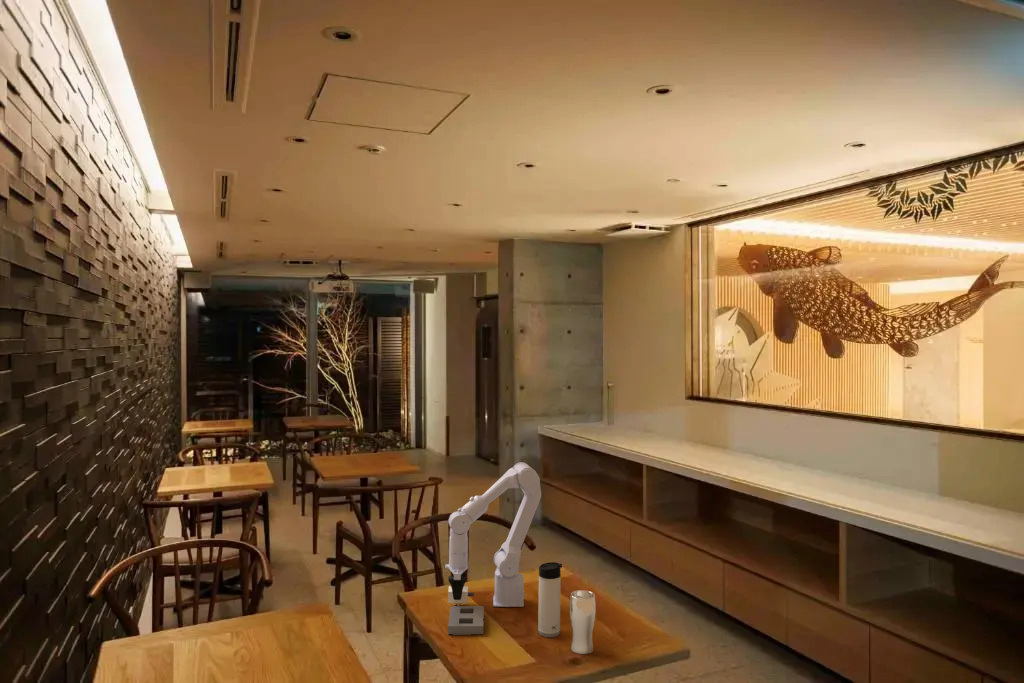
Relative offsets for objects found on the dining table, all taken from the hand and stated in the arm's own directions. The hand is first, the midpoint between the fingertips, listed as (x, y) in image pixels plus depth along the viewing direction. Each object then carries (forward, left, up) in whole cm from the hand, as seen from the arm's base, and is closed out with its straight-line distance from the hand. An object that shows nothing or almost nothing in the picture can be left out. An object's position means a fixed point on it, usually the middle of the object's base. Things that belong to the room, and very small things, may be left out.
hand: (457, 594), depth 219 cm
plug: (-1, 0, -4) cm, 4 cm away
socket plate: (-3, +13, -4) cm, 14 cm away
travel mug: (-27, +19, -4) cm, 33 cm away
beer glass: (-35, +29, -4) cm, 46 cm away
